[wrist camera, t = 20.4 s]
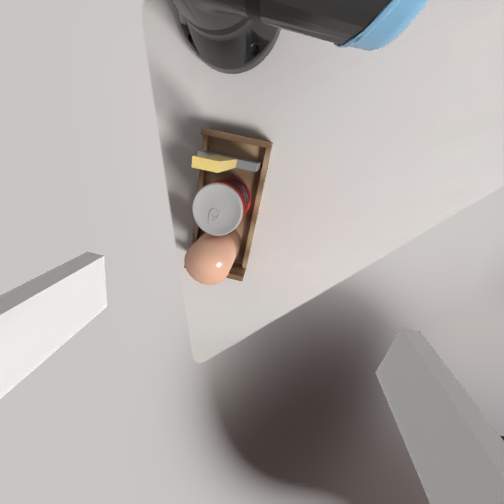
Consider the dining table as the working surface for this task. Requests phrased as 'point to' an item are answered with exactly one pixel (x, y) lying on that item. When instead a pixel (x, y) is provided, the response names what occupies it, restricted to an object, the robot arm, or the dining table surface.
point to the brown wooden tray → (253, 180)
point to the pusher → (222, 162)
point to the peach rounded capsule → (212, 257)
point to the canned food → (221, 205)
